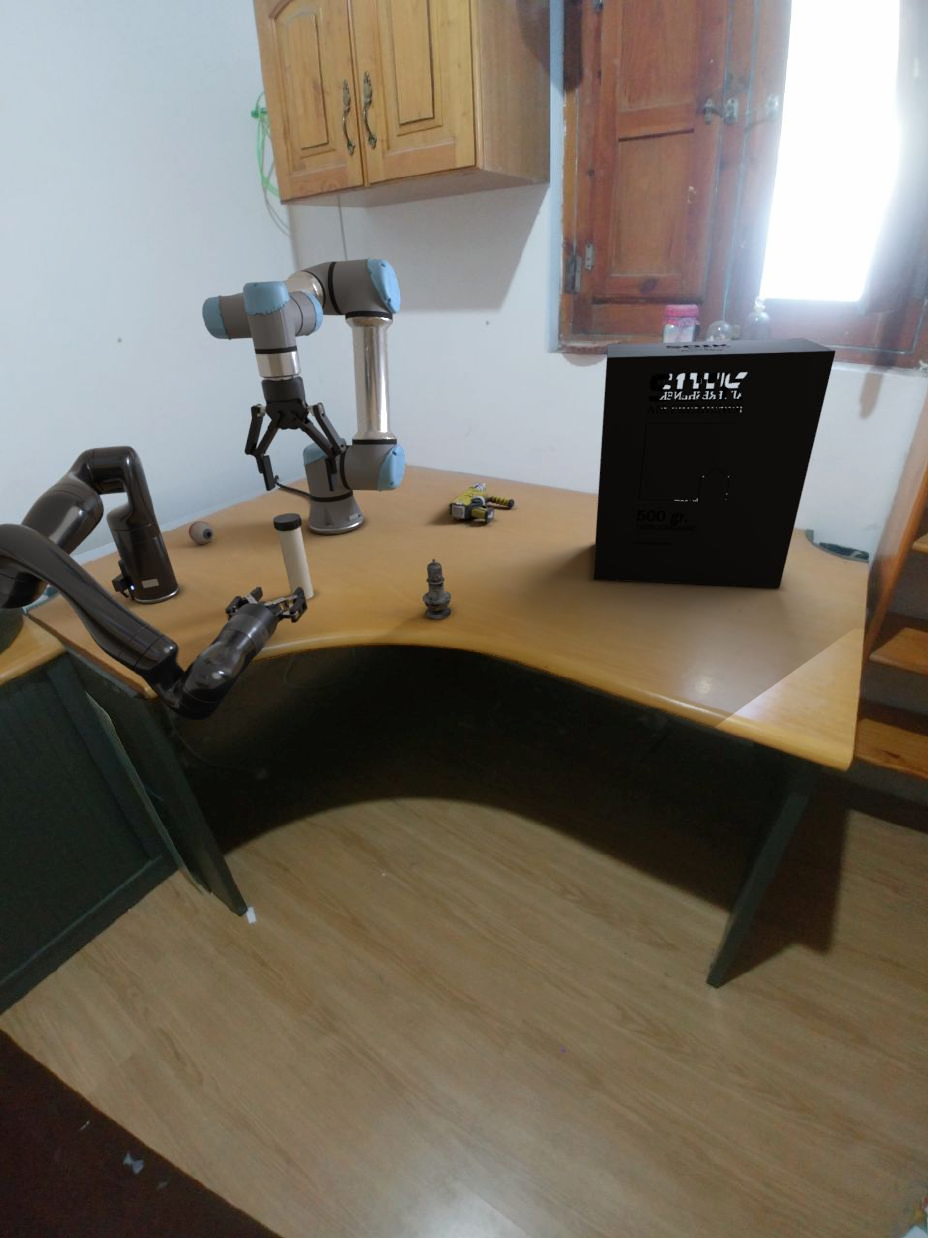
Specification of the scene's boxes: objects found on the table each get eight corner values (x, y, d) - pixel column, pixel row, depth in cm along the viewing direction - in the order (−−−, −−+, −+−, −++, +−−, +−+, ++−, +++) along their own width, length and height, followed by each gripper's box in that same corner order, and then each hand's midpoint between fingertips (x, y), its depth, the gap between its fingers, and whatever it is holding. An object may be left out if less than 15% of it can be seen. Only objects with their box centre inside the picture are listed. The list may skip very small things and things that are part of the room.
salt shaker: (449, 620, 120) (445, 565, 114) (420, 618, 121) (415, 564, 115) (455, 606, 125) (451, 552, 119) (427, 604, 126) (422, 551, 120)
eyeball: (202, 548, 159) (196, 527, 156) (187, 544, 162) (181, 523, 159) (221, 540, 163) (215, 519, 160) (206, 537, 166) (200, 516, 163)
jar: (298, 590, 135) (282, 515, 126) (317, 591, 134) (302, 516, 125) (288, 600, 131) (271, 523, 122) (307, 601, 130) (291, 524, 121)
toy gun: (522, 487, 180) (475, 480, 184) (500, 511, 160) (447, 502, 164) (521, 502, 182) (474, 495, 186) (499, 527, 162) (447, 519, 166)
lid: (282, 520, 128) (281, 512, 127) (306, 521, 126) (305, 513, 125) (269, 530, 123) (267, 522, 122) (294, 531, 122) (292, 523, 121)
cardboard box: (759, 548, 141) (803, 338, 119) (779, 587, 124) (835, 350, 102) (595, 543, 149) (607, 344, 126) (593, 579, 132) (607, 357, 109)
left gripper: (214, 649, 110) (251, 606, 124) (289, 651, 108) (318, 607, 122) (203, 614, 106) (243, 573, 120) (281, 615, 105) (311, 574, 118)
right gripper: (352, 372, 112) (367, 483, 123) (229, 375, 117) (254, 483, 127) (337, 378, 106) (354, 495, 116) (209, 381, 110) (236, 494, 121)
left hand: (280, 590), depth 121 cm, fingers open, 8 cm apart
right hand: (302, 489), depth 122 cm, fingers open, 13 cm apart
